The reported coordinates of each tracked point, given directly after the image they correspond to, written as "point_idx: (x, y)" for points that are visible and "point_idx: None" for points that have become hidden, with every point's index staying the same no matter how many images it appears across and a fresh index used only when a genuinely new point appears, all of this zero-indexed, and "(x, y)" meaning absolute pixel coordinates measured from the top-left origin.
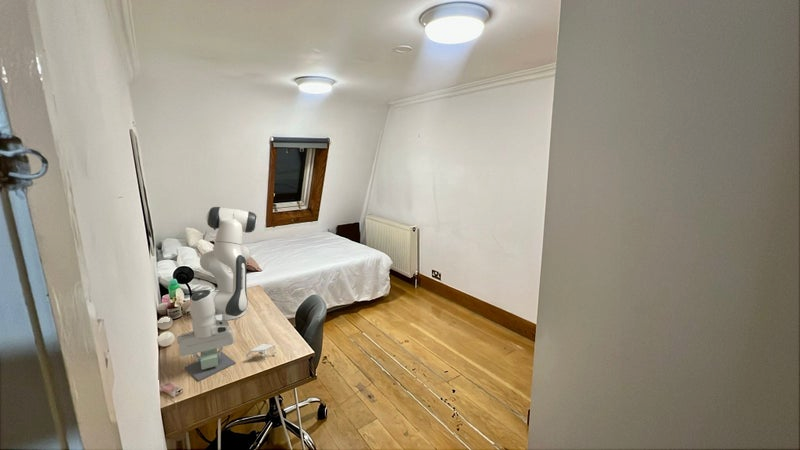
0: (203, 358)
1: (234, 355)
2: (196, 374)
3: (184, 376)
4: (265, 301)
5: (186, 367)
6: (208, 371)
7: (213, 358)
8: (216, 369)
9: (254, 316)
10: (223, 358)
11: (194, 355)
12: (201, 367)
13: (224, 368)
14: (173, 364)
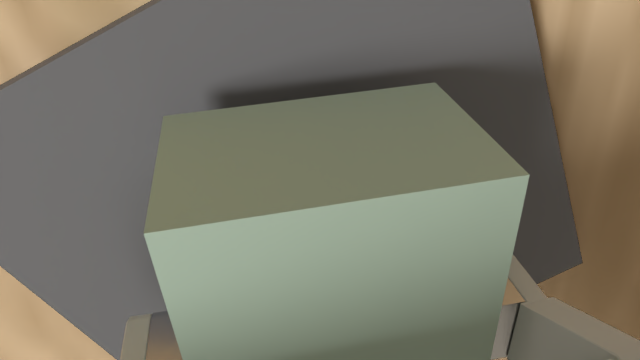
0: (457, 257)
1: (4, 343)
2: (494, 39)
3: (614, 85)
4: None
5: (568, 245)
6: (323, 50)
7: (235, 208)
8: (194, 58)
9: None
10: (139, 306)
11: (637, 356)
12: (453, 100)
13: (57, 56)
14: (634, 329)
